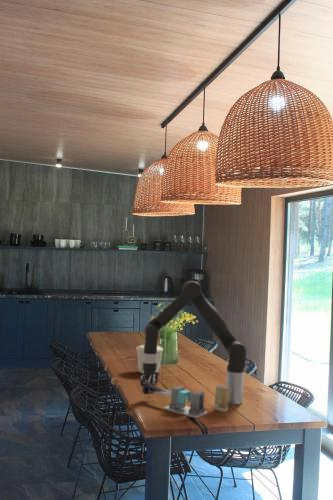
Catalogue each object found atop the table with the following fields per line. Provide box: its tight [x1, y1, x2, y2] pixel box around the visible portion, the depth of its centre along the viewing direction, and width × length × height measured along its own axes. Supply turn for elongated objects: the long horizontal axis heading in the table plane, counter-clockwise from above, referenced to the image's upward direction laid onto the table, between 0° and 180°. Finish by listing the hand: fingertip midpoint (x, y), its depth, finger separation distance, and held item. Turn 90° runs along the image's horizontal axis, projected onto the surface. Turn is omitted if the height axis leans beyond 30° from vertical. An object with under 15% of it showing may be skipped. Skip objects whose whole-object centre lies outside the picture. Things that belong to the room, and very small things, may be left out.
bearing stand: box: [162, 385, 208, 419], centre depth 260 cm, size 11×20×11 cm, turn 54°
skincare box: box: [213, 384, 230, 413], centre depth 266 cm, size 6×4×12 cm
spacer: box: [178, 389, 192, 405], centre depth 261 cm, size 6×4×6 cm, turn 144°
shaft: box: [141, 382, 189, 402], centre depth 268 cm, size 28×5×5 cm, turn 54°
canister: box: [135, 344, 164, 375], centre depth 338 cm, size 18×18×21 cm
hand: (148, 392), depth 274 cm, fingers closed on shaft, 5 cm apart
